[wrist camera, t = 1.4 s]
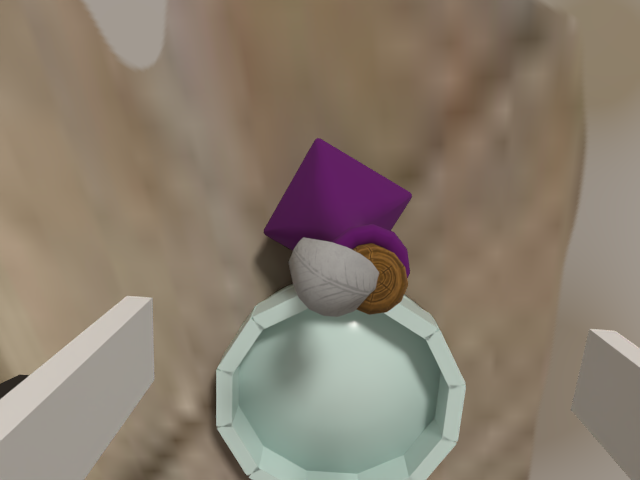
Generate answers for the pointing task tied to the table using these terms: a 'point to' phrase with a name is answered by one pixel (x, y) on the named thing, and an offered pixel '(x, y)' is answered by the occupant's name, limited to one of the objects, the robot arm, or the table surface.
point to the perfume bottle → (342, 234)
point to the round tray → (338, 393)
